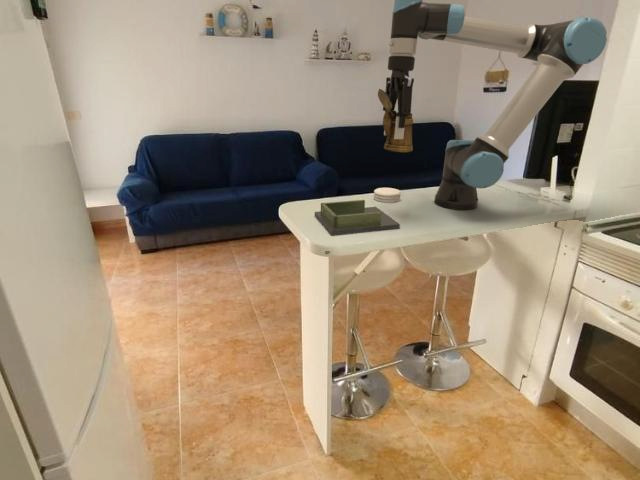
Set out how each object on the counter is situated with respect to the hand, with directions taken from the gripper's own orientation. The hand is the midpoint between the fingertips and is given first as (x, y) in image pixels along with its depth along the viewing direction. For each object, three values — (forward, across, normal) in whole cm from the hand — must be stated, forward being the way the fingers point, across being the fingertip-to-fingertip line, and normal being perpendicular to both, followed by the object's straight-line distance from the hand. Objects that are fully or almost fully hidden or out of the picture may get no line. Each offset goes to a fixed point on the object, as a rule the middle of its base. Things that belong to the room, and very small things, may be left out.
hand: (393, 136), depth 122 cm
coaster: (+26, -17, +8) cm, 32 cm away
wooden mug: (+4, 0, 0) cm, 4 cm away
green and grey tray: (+26, +4, -12) cm, 29 cm away
